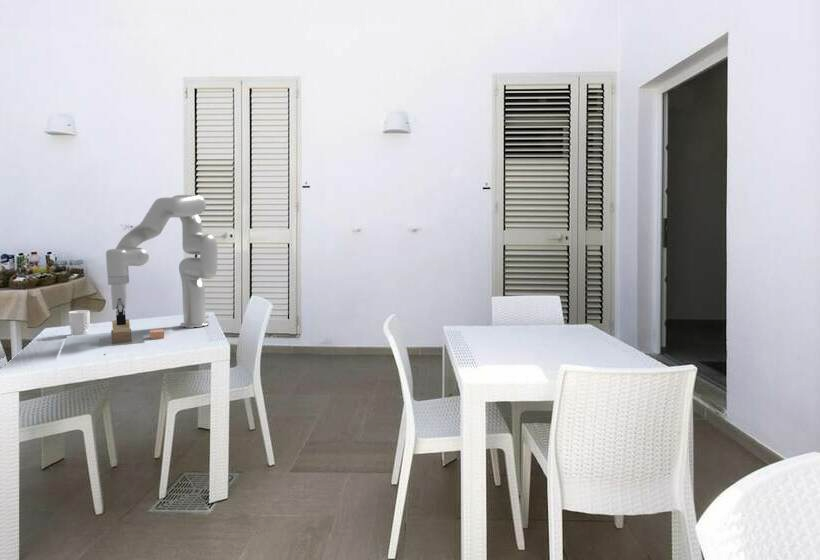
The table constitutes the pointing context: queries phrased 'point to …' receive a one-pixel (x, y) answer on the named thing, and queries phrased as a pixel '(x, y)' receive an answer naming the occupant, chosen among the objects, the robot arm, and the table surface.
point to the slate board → (108, 342)
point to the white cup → (79, 322)
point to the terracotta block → (157, 334)
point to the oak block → (121, 327)
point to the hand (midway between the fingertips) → (121, 322)
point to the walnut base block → (121, 337)
